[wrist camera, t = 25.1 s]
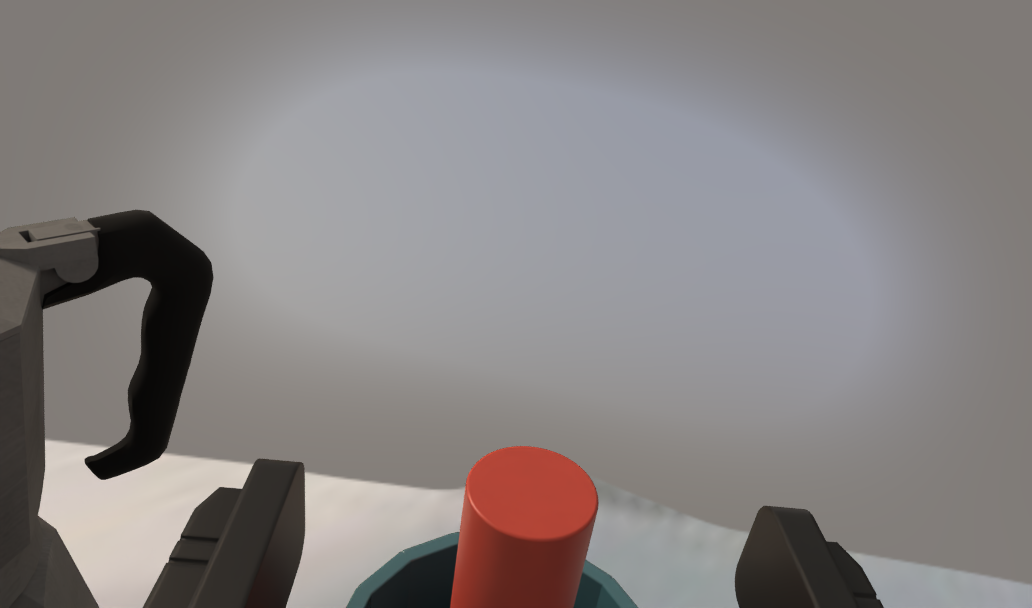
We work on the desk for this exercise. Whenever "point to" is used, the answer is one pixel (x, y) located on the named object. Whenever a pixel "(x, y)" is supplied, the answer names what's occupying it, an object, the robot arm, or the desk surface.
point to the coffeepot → (20, 377)
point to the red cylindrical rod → (523, 531)
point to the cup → (430, 574)
